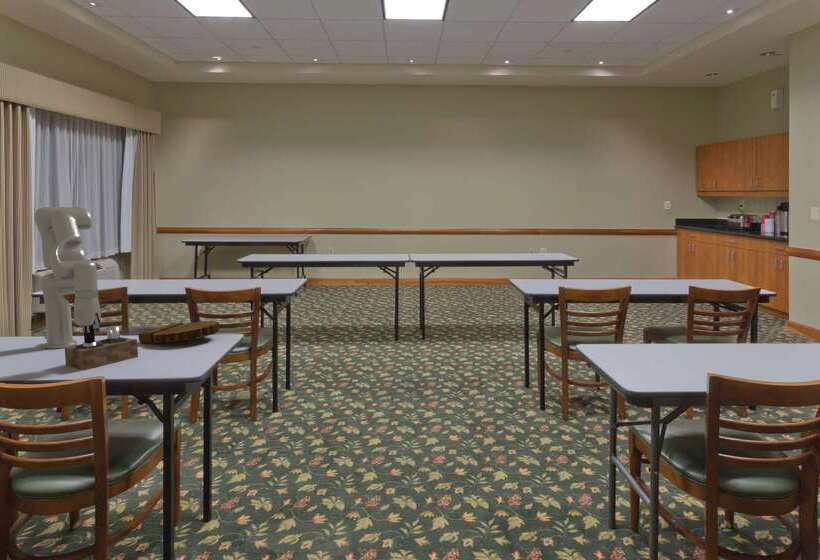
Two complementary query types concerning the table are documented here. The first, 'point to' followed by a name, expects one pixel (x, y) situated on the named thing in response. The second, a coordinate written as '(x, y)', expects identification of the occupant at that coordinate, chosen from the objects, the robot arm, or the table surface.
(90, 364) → the socket block
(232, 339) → the table surface
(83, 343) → the peg near
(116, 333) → the peg far
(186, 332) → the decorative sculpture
